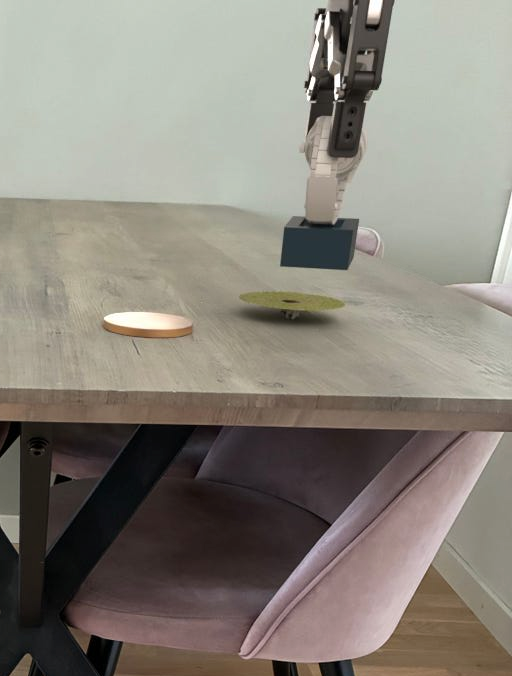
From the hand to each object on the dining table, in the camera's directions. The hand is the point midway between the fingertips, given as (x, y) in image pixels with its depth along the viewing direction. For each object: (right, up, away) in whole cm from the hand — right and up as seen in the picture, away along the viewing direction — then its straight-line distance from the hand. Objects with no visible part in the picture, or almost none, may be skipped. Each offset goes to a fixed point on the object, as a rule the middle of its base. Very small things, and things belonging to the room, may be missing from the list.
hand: (328, 155), depth 77 cm
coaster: (-12, -8, +20) cm, 24 cm away
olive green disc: (+4, -4, +27) cm, 28 cm away
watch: (0, -7, +5) cm, 8 cm away
